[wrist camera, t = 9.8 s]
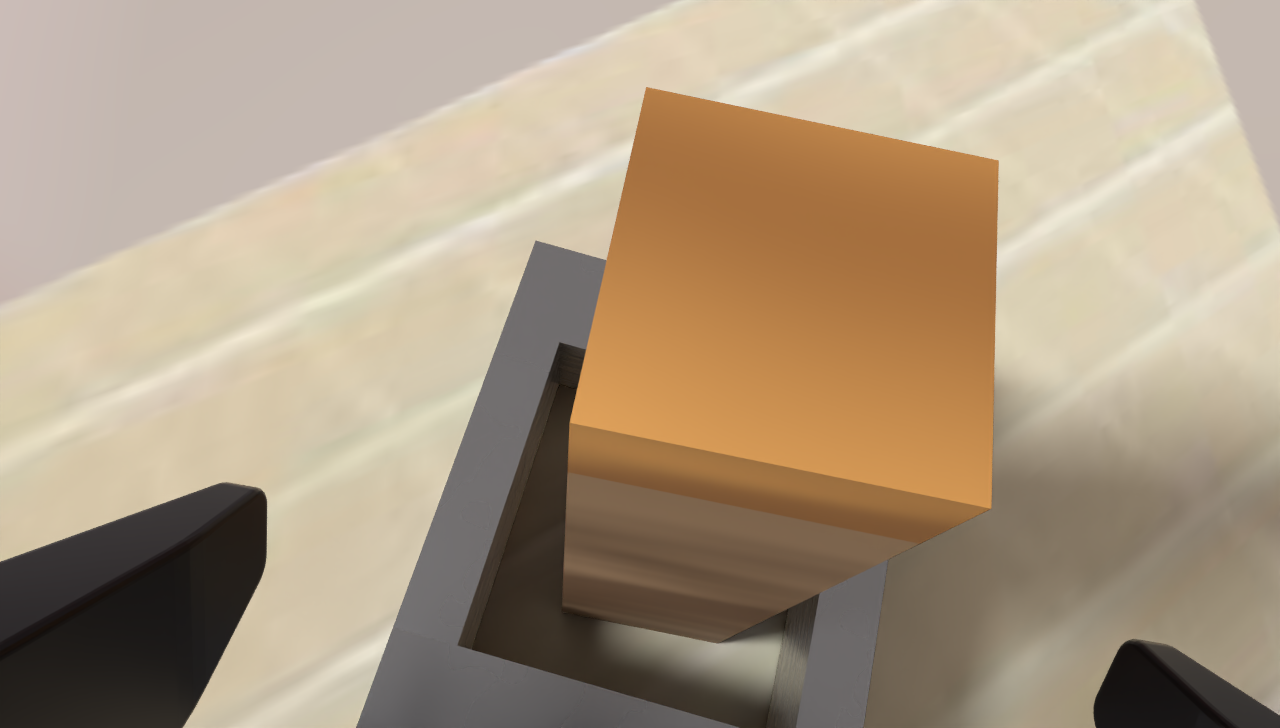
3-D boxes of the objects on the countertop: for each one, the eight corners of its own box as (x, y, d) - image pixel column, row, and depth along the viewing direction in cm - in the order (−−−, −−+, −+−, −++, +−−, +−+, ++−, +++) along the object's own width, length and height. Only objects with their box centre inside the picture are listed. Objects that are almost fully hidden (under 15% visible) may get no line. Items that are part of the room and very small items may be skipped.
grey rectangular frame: (800, 875, 17) (838, 899, 15) (373, 750, 18) (346, 754, 15) (881, 387, 22) (919, 348, 19) (537, 291, 22) (535, 240, 20)
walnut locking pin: (717, 643, 19) (991, 509, 7) (561, 611, 19) (569, 422, 7) (739, 491, 20) (998, 161, 8) (593, 461, 20) (647, 87, 8)
